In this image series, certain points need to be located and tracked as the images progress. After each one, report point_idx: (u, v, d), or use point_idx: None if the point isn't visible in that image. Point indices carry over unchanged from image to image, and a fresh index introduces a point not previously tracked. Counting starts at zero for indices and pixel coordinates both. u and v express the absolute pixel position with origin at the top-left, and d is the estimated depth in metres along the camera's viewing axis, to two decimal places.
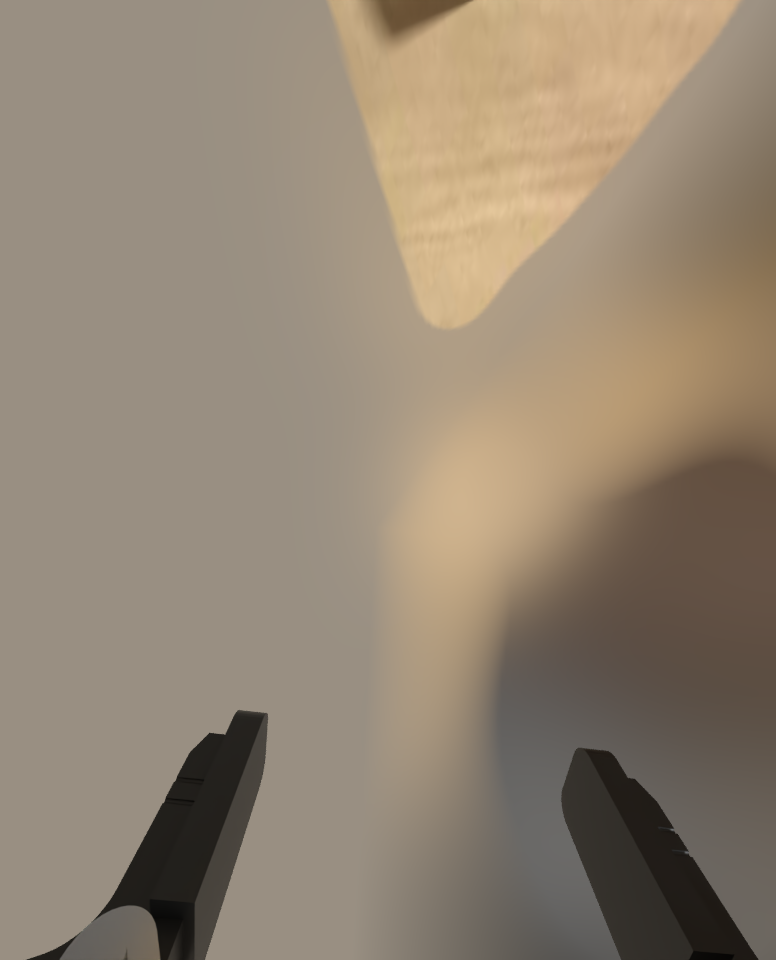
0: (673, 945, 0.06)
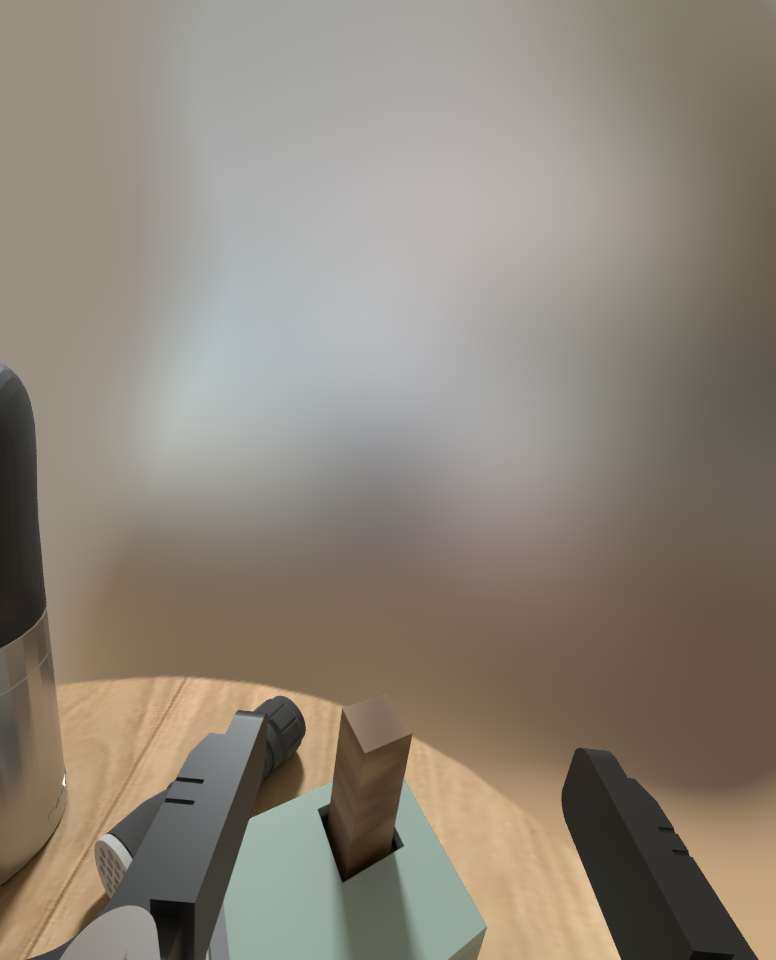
0: (673, 945, 0.06)
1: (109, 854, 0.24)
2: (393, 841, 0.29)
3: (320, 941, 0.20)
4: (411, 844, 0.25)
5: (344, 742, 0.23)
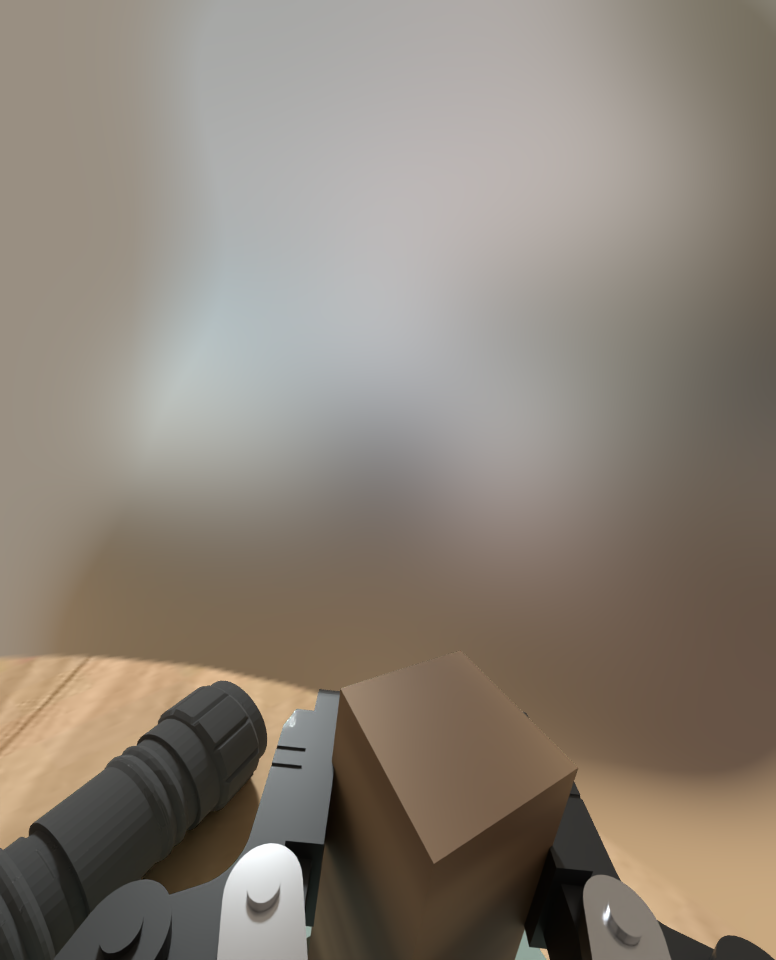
0: (545, 866, 0.07)
1: None
2: None
3: None
4: None
5: (347, 794, 0.07)
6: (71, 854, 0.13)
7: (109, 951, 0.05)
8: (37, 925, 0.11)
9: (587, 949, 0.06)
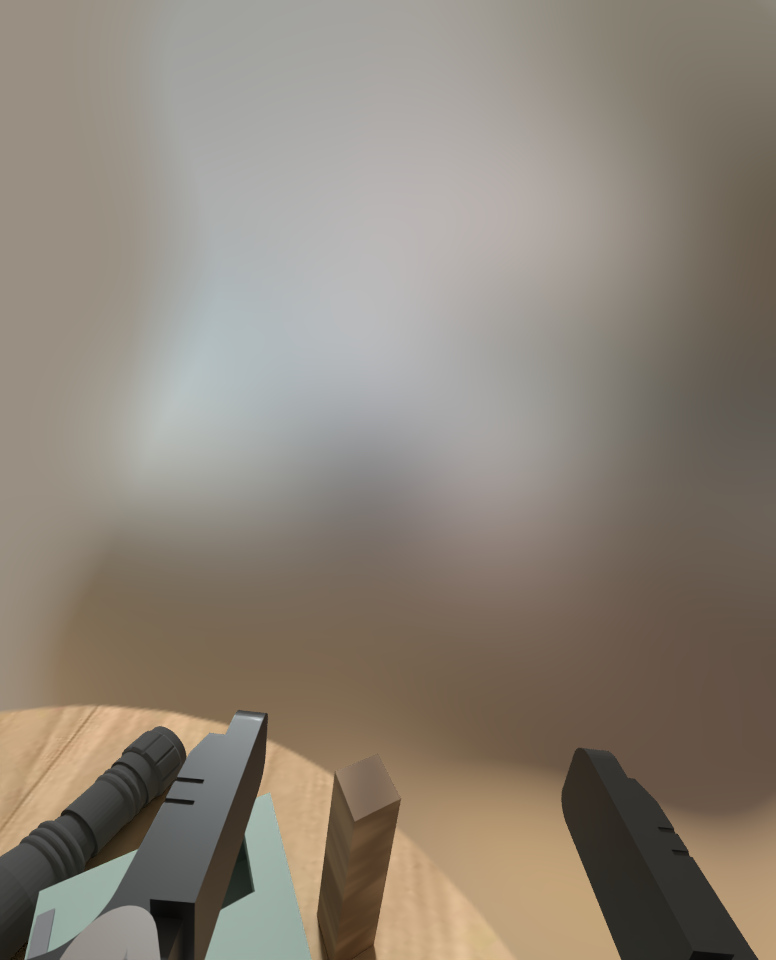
0: (673, 945, 0.06)
1: None
2: None
3: None
4: (262, 889, 0.25)
5: (337, 804, 0.25)
6: (86, 820, 0.29)
7: None
8: (76, 847, 0.27)
9: None
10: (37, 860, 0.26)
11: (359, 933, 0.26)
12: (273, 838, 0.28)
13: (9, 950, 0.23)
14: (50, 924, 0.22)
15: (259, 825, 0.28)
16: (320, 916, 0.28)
